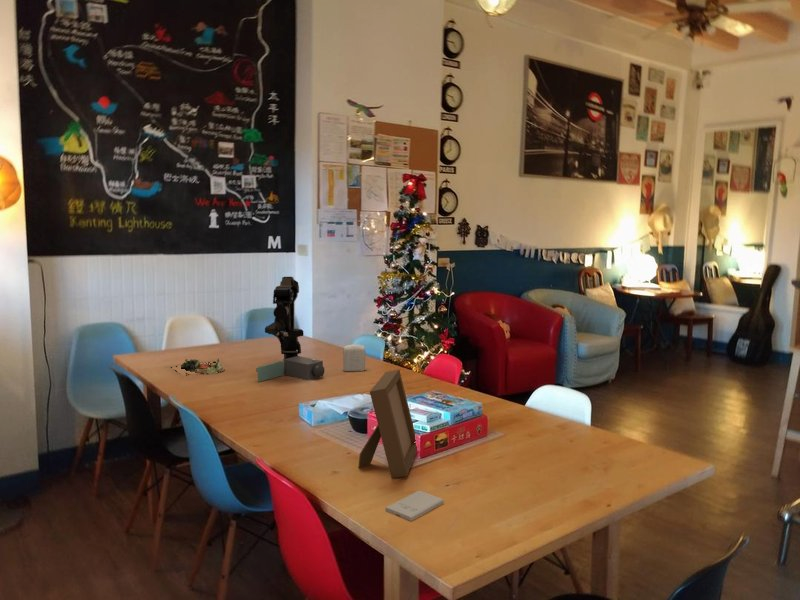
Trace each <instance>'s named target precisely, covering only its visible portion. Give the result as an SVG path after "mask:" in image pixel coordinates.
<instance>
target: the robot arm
mask: <svg viewBox="0 0 800 600" xmlns="http://www.w3.org/2000/svg"><path fill="white" fill-rule="evenodd" d="M299 293H300V286H299V282H298V281H297V280H295V279H294V276H282V277H281V281H280V283H279V285H277V286H276V287H275V289H273V294H272V295H273V296H272V304H273V305H276V307H275V308H274V310H273V316H274V322H272V323H270V324H268V325H266V326H265V328H264V332H265V334H267V335H272V336H274V337H276V338H277V339H278V341H279V343H280V353H281V355H283V359H287V358H292V357H296V356H299V355H300V354H302V345H301V343H300V340H299V337H304V330H303V329H300V328H295V302H296V301H297V298H298V295H299Z"/></svg>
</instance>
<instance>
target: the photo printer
mask: <svg viewBox="0 0 800 600" xmlns="http://www.w3.org/2000/svg"><path fill="white" fill-rule="evenodd" d="M342 357H343V358H342V359H343V363H342V365H343V372H365V371H366V348H365V345H362V344H356V343H352V344H348V345H345V346H344V347H343V356H342ZM364 370H365V371H364Z"/></svg>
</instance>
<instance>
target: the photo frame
mask: <svg viewBox="0 0 800 600" xmlns="http://www.w3.org/2000/svg"><path fill="white" fill-rule="evenodd" d="M369 395H370V398H371V403H372V407H373V410H374V414H375V418H376V422H377V425H376V426H375V428H374V430H373V431H372V433H371V435H370V436H369V438H368V440H367V441H366V443H365V445H364V446H363V447H362V448H361V449H362V450H361V451H360V452H359V457H358V458H359V459H358V469H362V468H364V467H366V466H368V465H371V463H372V461H373V460H374V459H373V458H374V455H375V454H376V451H377V448H378V446H379V442H380V441H381V442H382V446H383V450H384V455H385V459H386V463H387V465H388V470H389V474H390V478H391V479H396V478H401V477H407V476H408V474H409V472H410V469H411V466H412V464H413V461H414V460H415V457H416V455H417V452H418V450H417V446H416V443H414V442H415V441H416V440H415V434H416V431H415V427H414V423H413V418H412V415H411V411H410V410H411V409H410V406H409V404H408V403H409V402H408V398H407V395H406V391H405V387H404V382H403V379H402V374H401V372H400V369H394V370H390V371H385V372H384V373H383V375H382V376H381V377H380V378H379V379H378V380H377V381H376V383H375V384H374V386H372V388H371V389H370V391H369Z"/></svg>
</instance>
